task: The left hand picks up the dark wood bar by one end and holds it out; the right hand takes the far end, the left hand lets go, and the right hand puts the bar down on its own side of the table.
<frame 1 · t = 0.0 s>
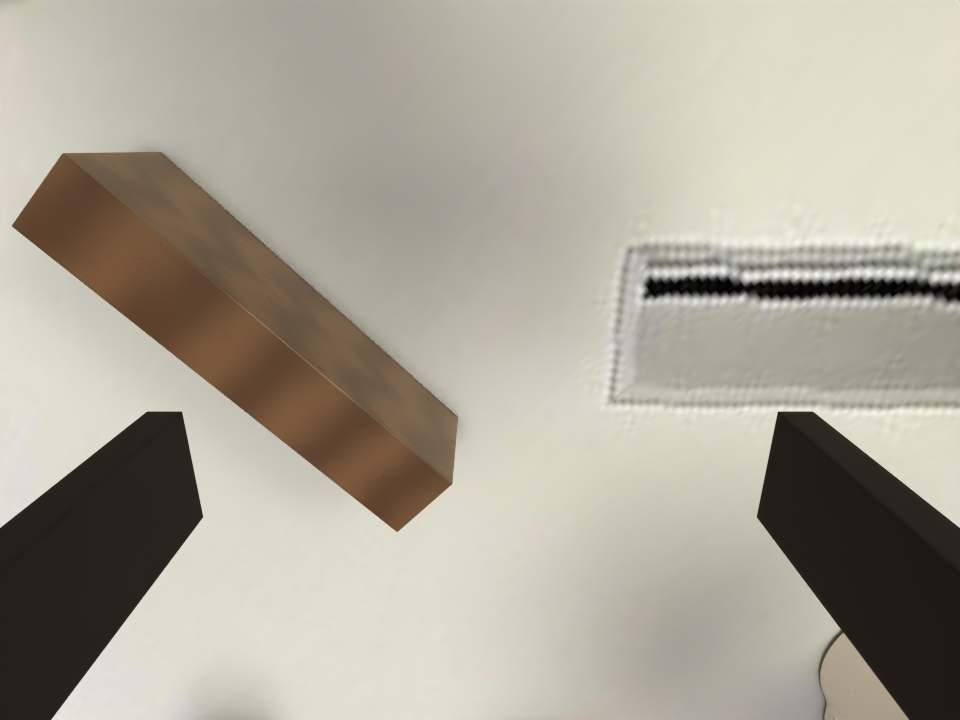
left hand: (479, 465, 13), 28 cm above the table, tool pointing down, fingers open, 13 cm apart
bar: (299, 319, 41), on the table
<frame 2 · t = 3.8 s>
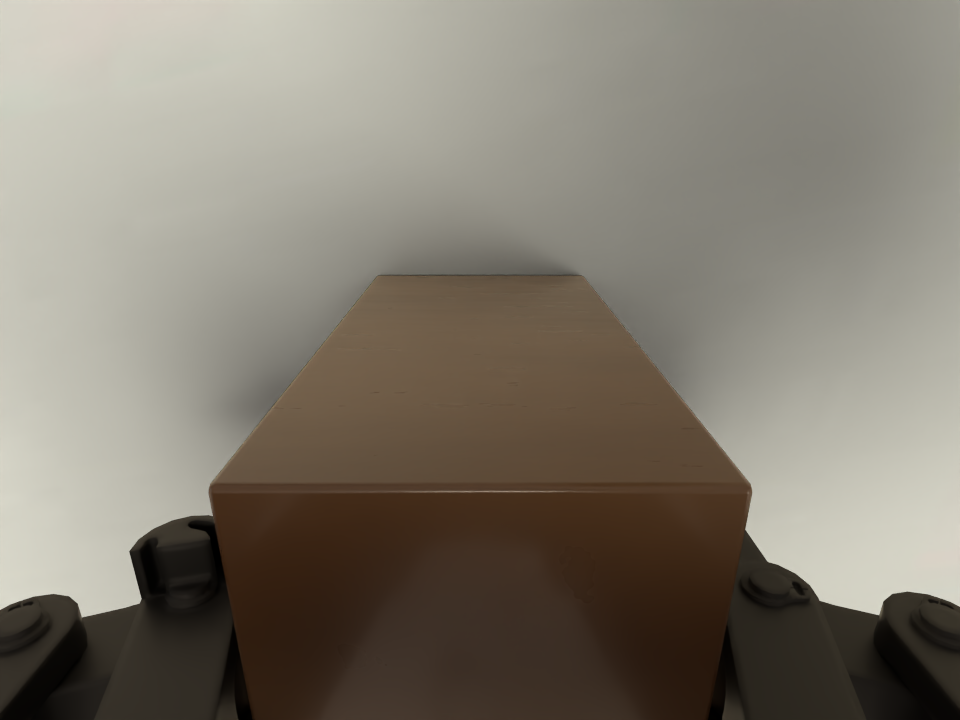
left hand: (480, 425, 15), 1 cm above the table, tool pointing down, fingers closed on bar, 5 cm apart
bar: (480, 683, 19), on the table, touching left hand
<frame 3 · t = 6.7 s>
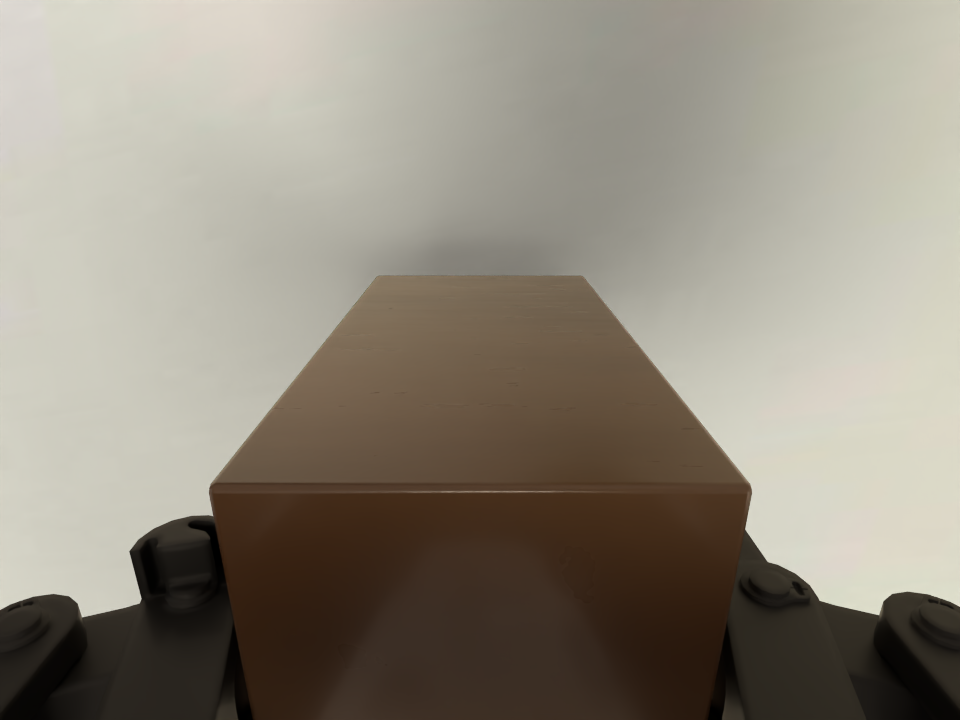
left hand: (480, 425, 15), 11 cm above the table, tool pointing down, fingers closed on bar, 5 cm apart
bar: (480, 683, 19), point 10 cm above the table, touching left hand
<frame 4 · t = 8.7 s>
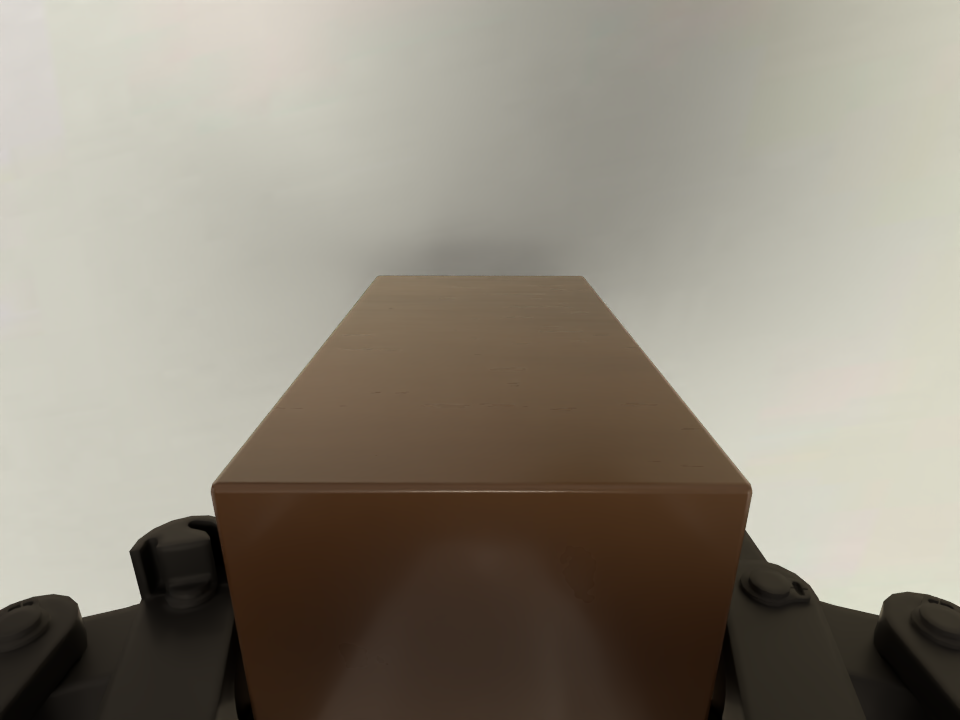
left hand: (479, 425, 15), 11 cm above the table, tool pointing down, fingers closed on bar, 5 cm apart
bar: (479, 683, 19), point 10 cm above the table, touching left hand, right hand
when the left hand's fingers open (11 cm above the table, at t = 9.7 s): bar stays where it is, held by the right hand.
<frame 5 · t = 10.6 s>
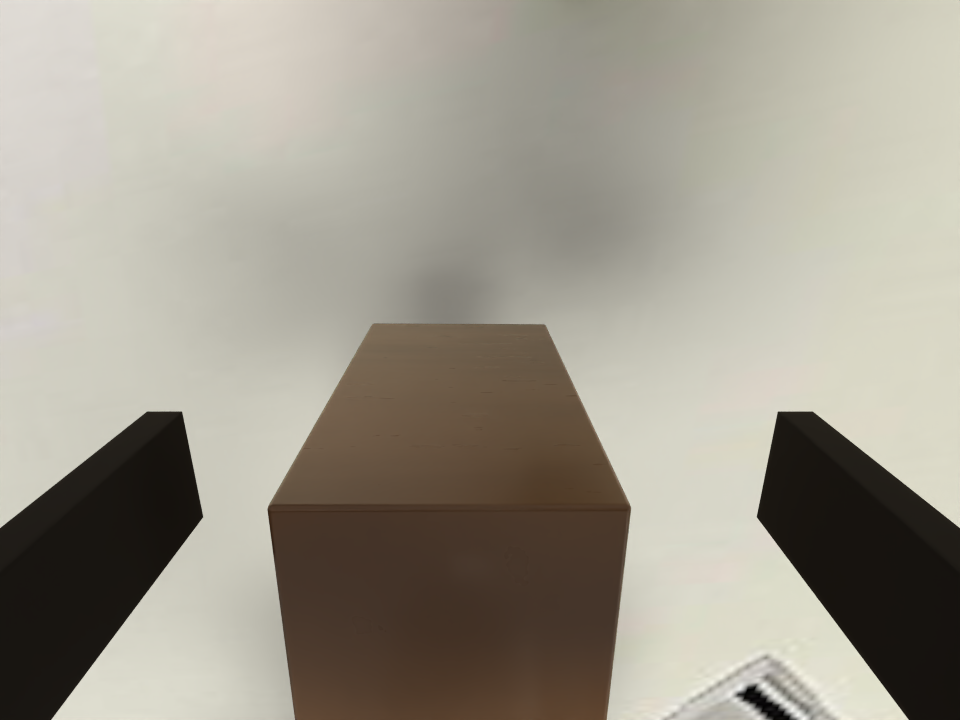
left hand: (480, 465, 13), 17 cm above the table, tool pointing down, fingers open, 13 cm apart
bar: (459, 675, 21), point 12 cm above the table, touching right hand
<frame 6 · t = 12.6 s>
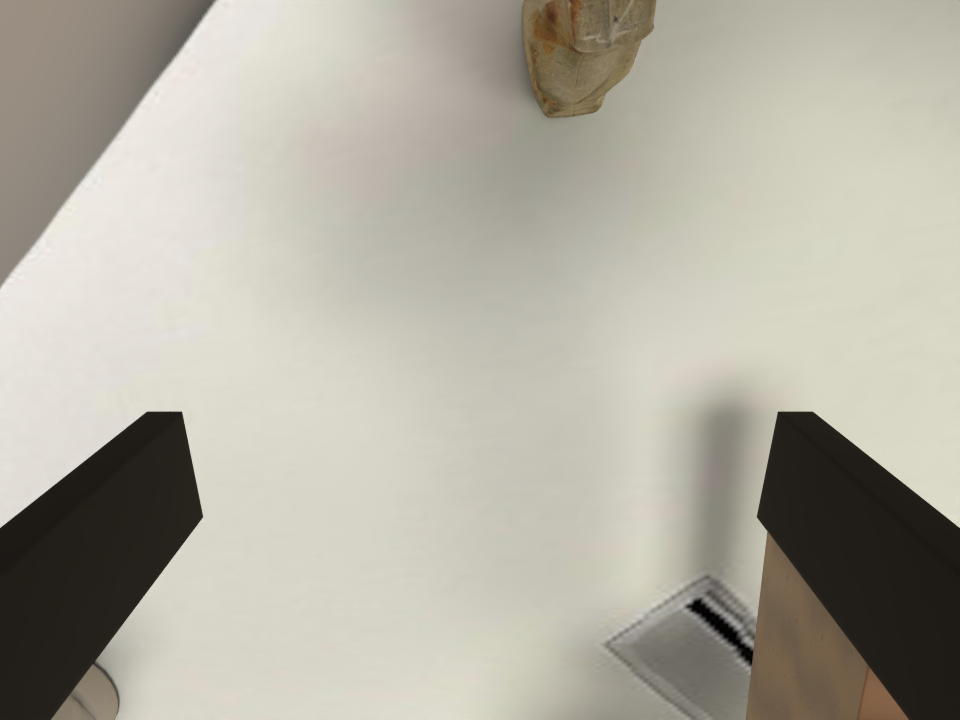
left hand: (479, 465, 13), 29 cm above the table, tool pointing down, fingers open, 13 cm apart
bar: (790, 667, 37), point 13 cm above the table, touching right hand
sculpture: (560, 56, 36), on the table
bust sculpture: (70, 668, 54), on the table
when the right hand's fingers open (5 cm above the table, at t = 16.7 s): bar stays where it is, on the table.
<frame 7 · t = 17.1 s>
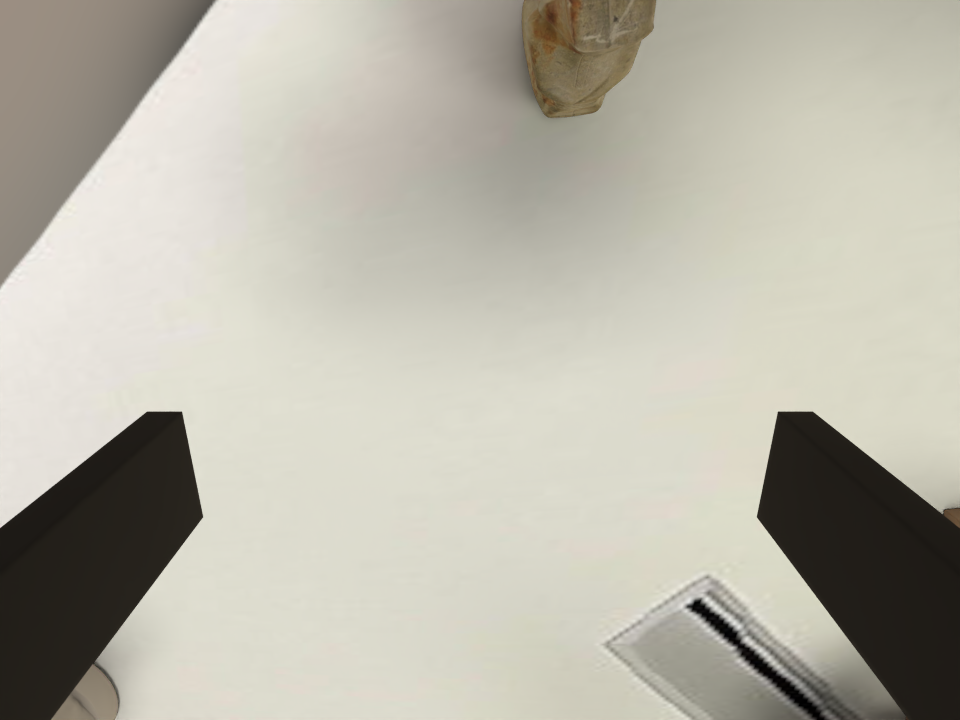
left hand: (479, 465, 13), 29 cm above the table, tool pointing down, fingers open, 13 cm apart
sculpture: (560, 56, 36), on the table
bust sculpture: (70, 668, 54), on the table
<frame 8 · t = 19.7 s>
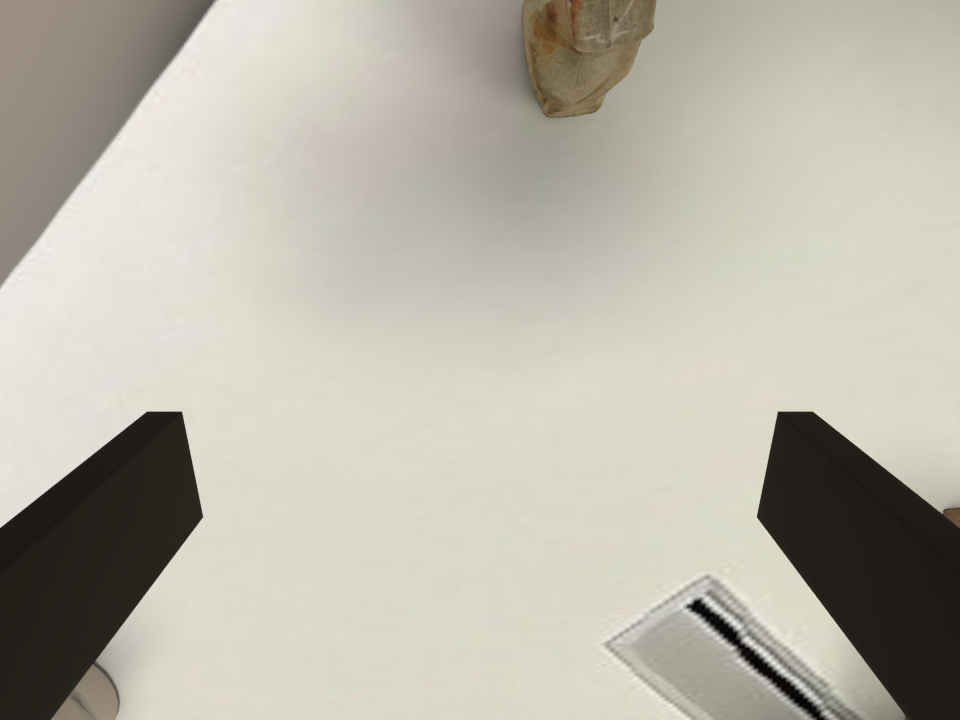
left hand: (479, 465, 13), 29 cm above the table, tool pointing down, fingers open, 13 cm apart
sculpture: (560, 56, 36), on the table
bust sculpture: (70, 668, 54), on the table
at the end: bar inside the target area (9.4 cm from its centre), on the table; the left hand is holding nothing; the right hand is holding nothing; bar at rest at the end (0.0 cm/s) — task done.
